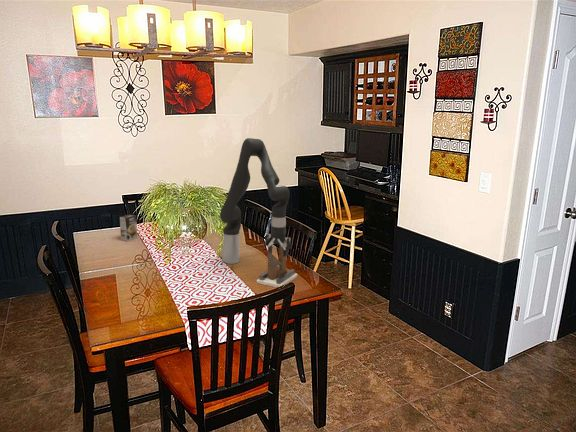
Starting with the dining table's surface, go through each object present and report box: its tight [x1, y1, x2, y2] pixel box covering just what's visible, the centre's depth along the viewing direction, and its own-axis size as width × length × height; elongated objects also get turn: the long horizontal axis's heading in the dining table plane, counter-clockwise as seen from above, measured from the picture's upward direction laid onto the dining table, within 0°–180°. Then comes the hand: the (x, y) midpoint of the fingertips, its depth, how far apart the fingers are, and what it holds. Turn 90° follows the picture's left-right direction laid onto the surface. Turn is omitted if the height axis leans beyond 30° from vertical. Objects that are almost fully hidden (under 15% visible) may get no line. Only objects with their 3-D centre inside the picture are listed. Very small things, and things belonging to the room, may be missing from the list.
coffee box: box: [119, 214, 138, 242], centre depth 294 cm, size 9×6×16 cm
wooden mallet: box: [267, 243, 288, 280], centre depth 229 cm, size 4×11×18 cm, turn 131°
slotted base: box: [256, 265, 298, 288], centre depth 231 cm, size 14×19×4 cm
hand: (277, 254), depth 228 cm, fingers open, 8 cm apart
